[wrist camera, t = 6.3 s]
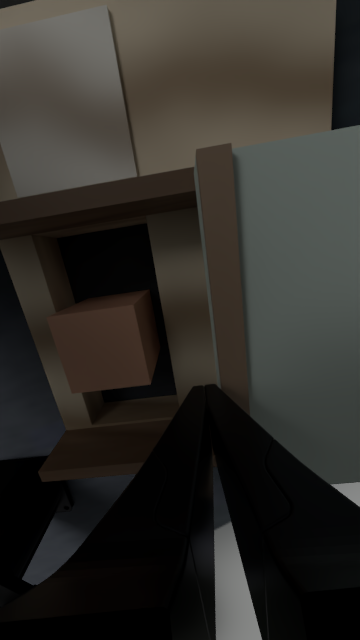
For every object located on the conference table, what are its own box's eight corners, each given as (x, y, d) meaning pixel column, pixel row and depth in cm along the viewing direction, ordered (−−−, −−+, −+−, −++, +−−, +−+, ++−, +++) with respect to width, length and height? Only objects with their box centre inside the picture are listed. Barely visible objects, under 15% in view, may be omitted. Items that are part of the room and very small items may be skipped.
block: (160, 347, 17) (150, 384, 12) (103, 354, 17) (71, 393, 12) (149, 289, 15) (133, 304, 11) (88, 298, 16) (46, 317, 11)
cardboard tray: (301, 391, 17) (354, 454, 12) (84, 415, 19) (42, 482, 13) (305, -2, 11) (425, -258, 5) (-28, 73, 12) (-202, -76, 7)
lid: (410, 447, 11) (453, 484, 10) (226, 463, 12) (234, 501, 10) (471, 123, 7) (564, 80, 6) (193, 172, 8) (196, 149, 6)
